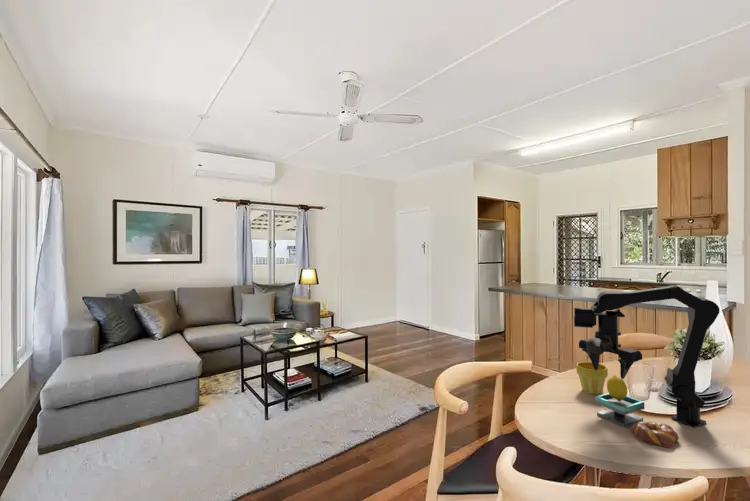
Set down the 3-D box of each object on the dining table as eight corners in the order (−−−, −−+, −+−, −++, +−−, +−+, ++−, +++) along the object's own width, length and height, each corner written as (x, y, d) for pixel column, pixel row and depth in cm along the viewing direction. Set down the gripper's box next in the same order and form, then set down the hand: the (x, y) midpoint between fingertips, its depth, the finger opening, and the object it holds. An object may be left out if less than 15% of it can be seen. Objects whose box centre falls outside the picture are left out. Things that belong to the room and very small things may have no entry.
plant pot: (578, 383, 147) (578, 359, 147) (608, 389, 141) (608, 364, 141) (575, 392, 139) (574, 367, 139) (607, 398, 133) (606, 372, 133)
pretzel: (649, 425, 114) (649, 414, 114) (689, 443, 104) (689, 430, 104) (622, 433, 110) (622, 421, 110) (661, 452, 99) (661, 438, 99)
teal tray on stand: (614, 409, 125) (614, 391, 125) (644, 421, 116) (644, 402, 116) (595, 414, 121) (595, 396, 121) (624, 428, 112) (624, 408, 112)
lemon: (632, 402, 115) (627, 376, 117) (613, 402, 116) (608, 376, 119) (625, 400, 120) (620, 375, 123) (606, 400, 122) (602, 375, 124)
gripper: (567, 326, 130) (568, 369, 130) (619, 338, 112) (620, 388, 113) (589, 322, 134) (589, 364, 134) (642, 333, 117) (643, 381, 117)
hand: (608, 374), depth 124 cm, fingers open, 9 cm apart
